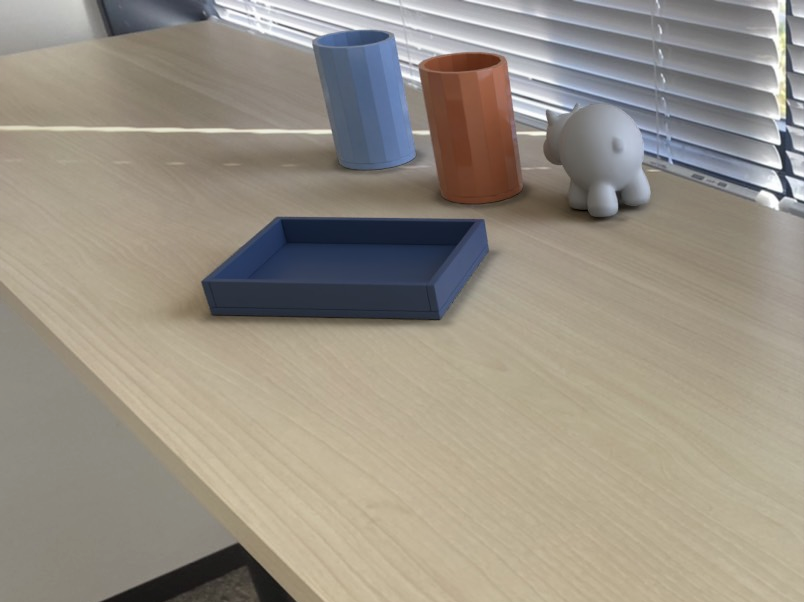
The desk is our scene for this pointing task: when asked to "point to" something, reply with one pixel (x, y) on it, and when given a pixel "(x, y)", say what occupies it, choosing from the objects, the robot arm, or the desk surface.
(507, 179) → the clay cup
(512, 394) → the desk surface
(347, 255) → the blue tray
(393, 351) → the desk surface
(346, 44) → the blue cup
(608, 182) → the round bodied animal figurine
